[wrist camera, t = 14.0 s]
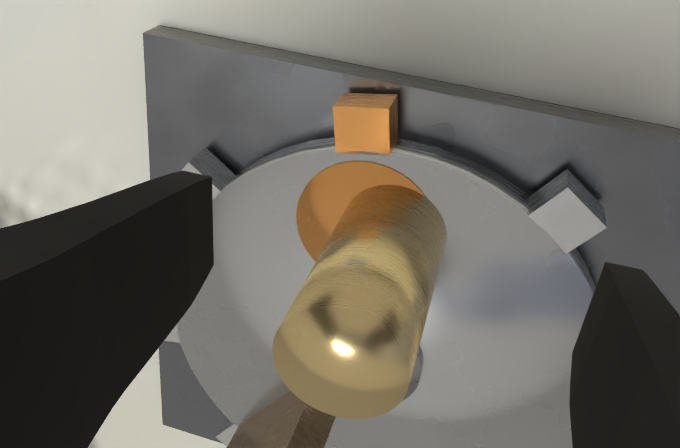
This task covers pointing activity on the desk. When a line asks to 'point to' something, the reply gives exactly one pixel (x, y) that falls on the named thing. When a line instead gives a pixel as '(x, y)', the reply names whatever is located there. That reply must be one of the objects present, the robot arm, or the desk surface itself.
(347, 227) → the roller
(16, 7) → the desk surface
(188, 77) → the base plate
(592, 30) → the desk surface
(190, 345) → the tabbed metal disc
